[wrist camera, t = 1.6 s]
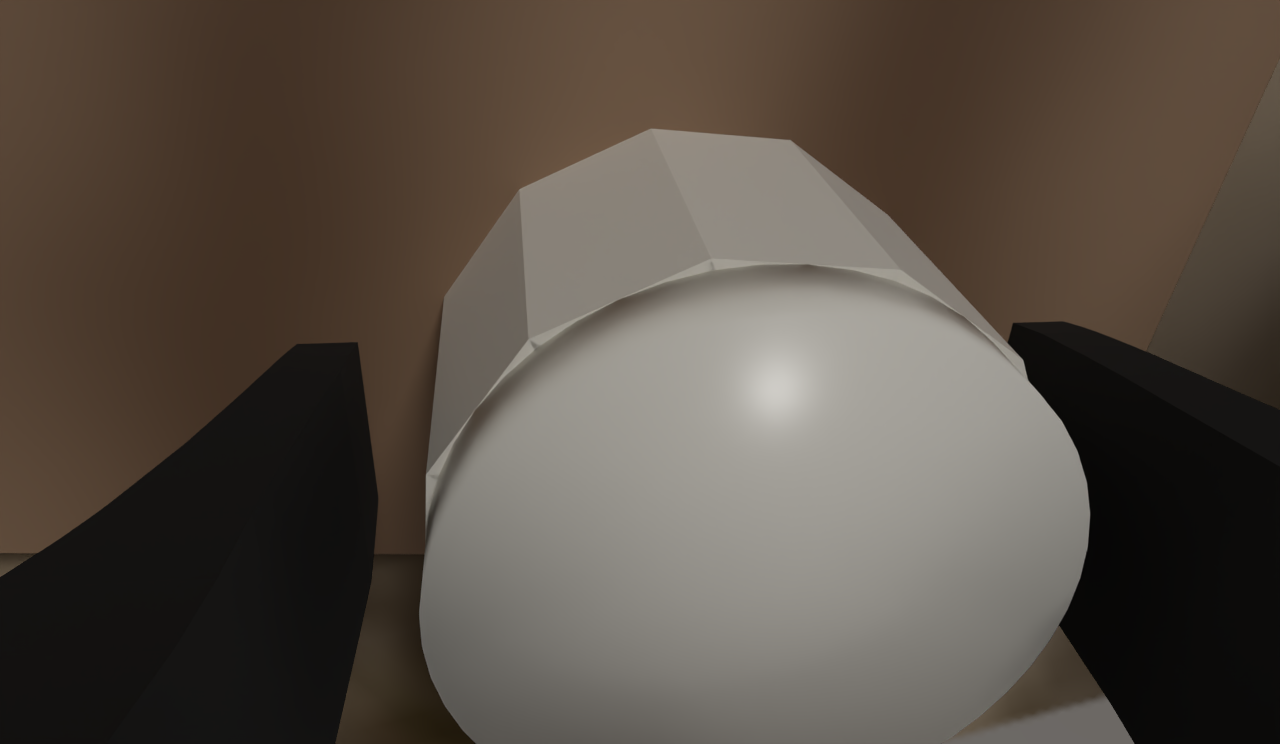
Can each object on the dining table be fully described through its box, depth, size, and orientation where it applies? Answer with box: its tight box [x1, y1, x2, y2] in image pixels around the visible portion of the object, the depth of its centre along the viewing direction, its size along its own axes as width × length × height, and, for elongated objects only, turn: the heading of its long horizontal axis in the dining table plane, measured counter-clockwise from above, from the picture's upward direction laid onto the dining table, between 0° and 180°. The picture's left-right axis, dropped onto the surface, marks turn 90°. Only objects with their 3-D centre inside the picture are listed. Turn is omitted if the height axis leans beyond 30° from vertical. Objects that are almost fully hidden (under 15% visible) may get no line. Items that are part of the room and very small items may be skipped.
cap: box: [419, 129, 1090, 744], centre depth 10 cm, size 6×6×4 cm
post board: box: [0, 0, 1280, 554], centre depth 8 cm, size 20×10×6 cm, turn 83°
